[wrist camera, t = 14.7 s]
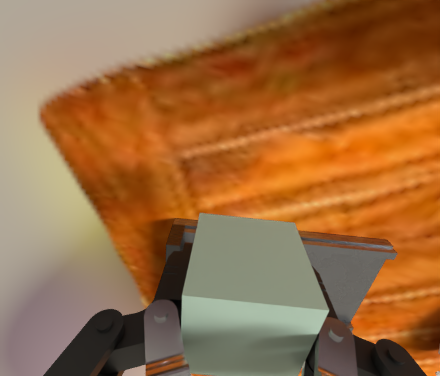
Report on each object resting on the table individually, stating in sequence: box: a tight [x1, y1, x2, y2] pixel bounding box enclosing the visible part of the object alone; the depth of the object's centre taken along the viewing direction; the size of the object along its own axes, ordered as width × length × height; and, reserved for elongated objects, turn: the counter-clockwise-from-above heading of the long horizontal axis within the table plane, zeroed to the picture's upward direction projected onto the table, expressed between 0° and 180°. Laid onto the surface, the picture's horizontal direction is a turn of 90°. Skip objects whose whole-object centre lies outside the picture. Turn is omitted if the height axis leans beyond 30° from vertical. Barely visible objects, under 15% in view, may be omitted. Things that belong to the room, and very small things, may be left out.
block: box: [181, 213, 329, 376], centre depth 11 cm, size 5×5×5 cm
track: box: [166, 218, 398, 332], centre depth 25 cm, size 13×22×4 cm, turn 84°
